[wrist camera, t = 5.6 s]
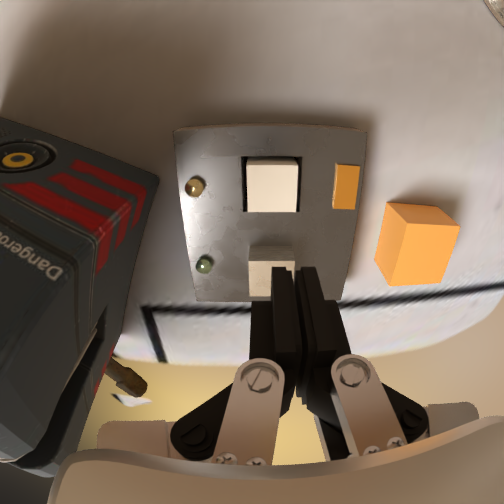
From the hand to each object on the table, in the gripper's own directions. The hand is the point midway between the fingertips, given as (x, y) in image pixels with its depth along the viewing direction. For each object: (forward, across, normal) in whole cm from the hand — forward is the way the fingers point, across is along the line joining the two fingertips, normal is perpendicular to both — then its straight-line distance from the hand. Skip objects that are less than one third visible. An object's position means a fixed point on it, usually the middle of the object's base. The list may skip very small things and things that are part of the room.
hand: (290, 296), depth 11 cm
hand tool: (+17, +28, +31) cm, 45 cm away
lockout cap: (+17, -16, +6) cm, 24 cm away
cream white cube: (+17, 0, 0) cm, 17 cm away
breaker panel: (+17, 0, +4) cm, 17 cm away
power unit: (+17, +30, +6) cm, 35 cm away
